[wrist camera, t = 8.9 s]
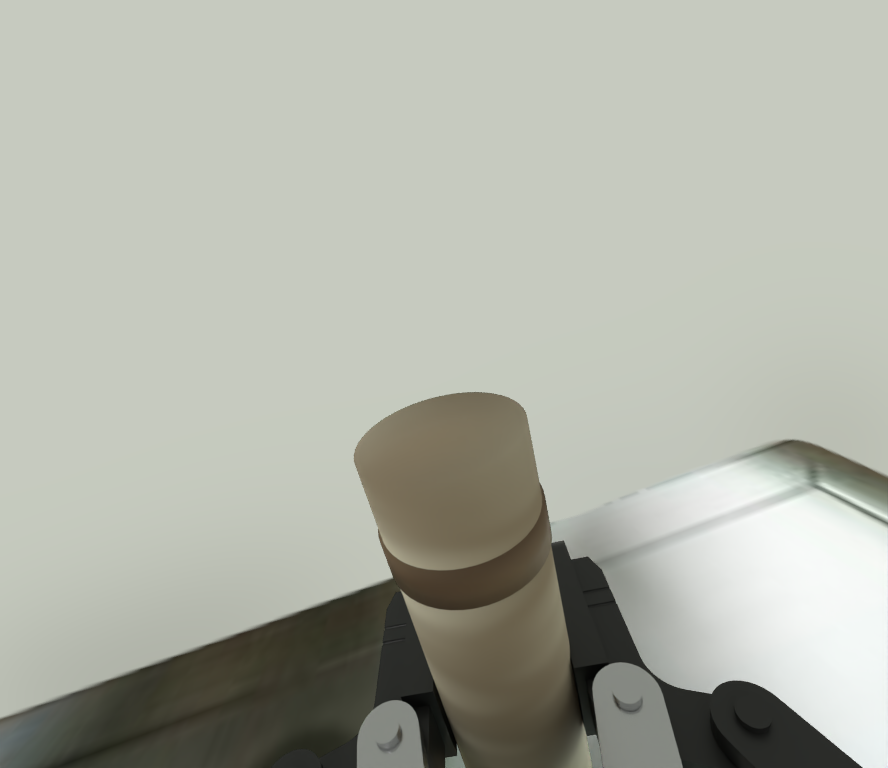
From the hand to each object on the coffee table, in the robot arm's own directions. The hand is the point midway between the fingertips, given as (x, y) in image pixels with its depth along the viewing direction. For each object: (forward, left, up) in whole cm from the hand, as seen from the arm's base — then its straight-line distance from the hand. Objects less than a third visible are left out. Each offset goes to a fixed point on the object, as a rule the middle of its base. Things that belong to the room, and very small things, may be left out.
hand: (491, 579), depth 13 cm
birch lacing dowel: (0, -3, -8) cm, 9 cm away
